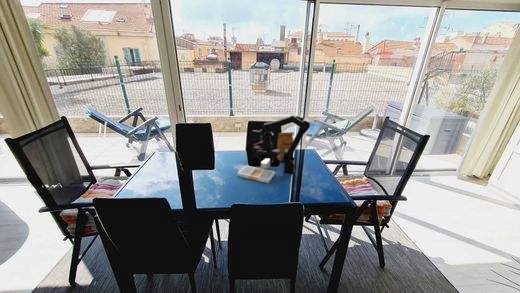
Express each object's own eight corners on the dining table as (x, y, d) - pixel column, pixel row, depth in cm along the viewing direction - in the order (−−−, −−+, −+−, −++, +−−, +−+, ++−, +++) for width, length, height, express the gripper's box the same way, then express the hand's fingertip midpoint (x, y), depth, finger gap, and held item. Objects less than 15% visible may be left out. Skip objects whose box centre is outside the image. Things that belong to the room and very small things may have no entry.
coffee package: (294, 161, 166) (296, 134, 158) (278, 162, 165) (279, 134, 156) (290, 156, 175) (292, 130, 167) (275, 156, 174) (277, 130, 166)
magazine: (273, 156, 170) (265, 140, 164) (257, 163, 171) (249, 147, 165) (272, 154, 173) (264, 138, 168) (257, 161, 175) (249, 145, 169)
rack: (274, 174, 148) (274, 171, 147) (268, 183, 137) (268, 180, 136) (245, 167, 156) (245, 165, 155) (237, 175, 145) (237, 173, 144)
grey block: (270, 166, 158) (270, 159, 156) (266, 171, 152) (266, 163, 149) (265, 165, 160) (265, 158, 157) (260, 170, 153) (260, 162, 151)
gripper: (283, 139, 151) (282, 159, 157) (258, 135, 158) (258, 155, 164) (277, 145, 142) (276, 166, 148) (252, 140, 148) (252, 161, 154)
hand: (265, 161), depth 154 cm, fingers open, 9 cm apart
